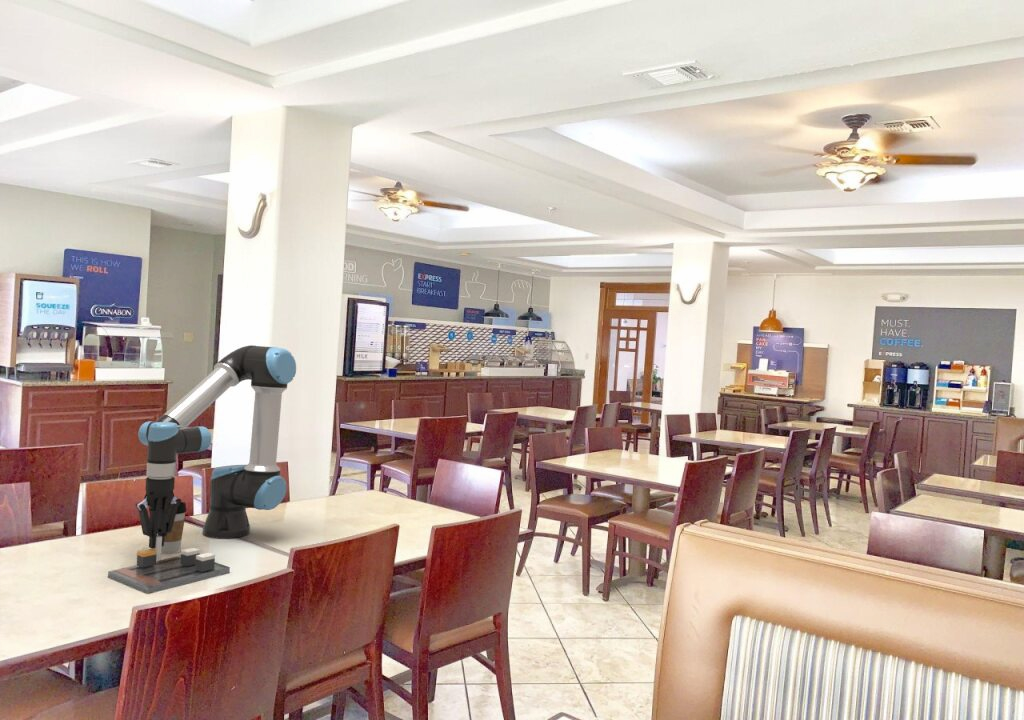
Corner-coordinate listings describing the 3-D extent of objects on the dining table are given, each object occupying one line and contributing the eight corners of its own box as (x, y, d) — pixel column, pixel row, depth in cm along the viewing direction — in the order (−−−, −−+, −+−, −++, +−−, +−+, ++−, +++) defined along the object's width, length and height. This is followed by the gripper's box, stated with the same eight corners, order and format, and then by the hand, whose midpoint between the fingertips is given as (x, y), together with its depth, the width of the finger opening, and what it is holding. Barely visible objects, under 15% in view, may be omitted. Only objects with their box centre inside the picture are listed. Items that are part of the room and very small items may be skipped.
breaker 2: (207, 566, 219) (208, 552, 219) (214, 568, 217) (215, 554, 217) (195, 569, 215) (196, 555, 215) (201, 571, 214) (202, 557, 214)
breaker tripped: (149, 562, 219) (150, 548, 219) (156, 564, 217) (156, 550, 217) (136, 565, 215) (137, 551, 215) (142, 567, 214) (143, 553, 214)
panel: (189, 558, 231) (189, 553, 231) (229, 572, 220) (229, 566, 220) (107, 577, 210) (108, 571, 210) (147, 593, 199) (148, 587, 199)
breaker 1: (192, 561, 223) (193, 547, 222) (199, 563, 221) (199, 549, 221) (180, 564, 219) (181, 550, 219) (186, 566, 218) (187, 552, 217)
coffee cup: (173, 556, 232) (175, 507, 232) (148, 552, 234) (151, 504, 233) (190, 549, 240) (192, 501, 240) (166, 545, 242) (168, 498, 242)
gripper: (173, 472, 226) (168, 551, 226) (131, 477, 215) (126, 560, 215) (188, 476, 221) (184, 556, 222) (146, 481, 211) (141, 566, 211)
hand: (155, 558), depth 219 cm, fingers closed
